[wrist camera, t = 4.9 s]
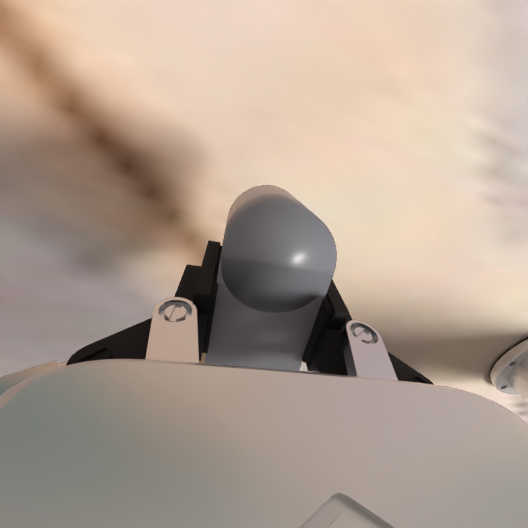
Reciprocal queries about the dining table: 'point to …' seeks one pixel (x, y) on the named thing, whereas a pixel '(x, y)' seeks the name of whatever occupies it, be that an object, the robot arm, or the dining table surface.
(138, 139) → the dining table surface
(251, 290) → the grey plug
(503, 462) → the robot arm
